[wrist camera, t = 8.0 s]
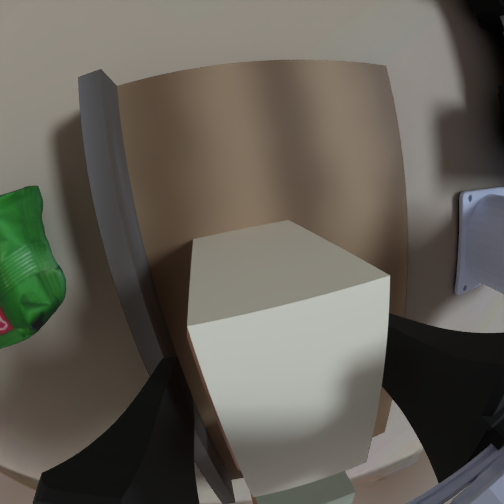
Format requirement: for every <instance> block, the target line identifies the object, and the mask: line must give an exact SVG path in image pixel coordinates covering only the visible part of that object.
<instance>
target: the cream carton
mask: <svg viewBox="0 0 504 504" xmlns="http://www.w3.org/2000/svg"><path fill="white" fill-rule="evenodd" d="M389 298H390V275H388V274H387V273H385V272H383V271H381V270H380V269H378V268H376V267H374V266H373V265H371V264H369V263H367V262H366V261H364V260H362V259H360V258H358V257H357V256H355V255H353V254H351V253H349V252H348V251H346V250H344V249H342V248H340V247H338V246H337V245H335V244H333V243H331V242H329V241H327V240H325V239H324V238H322V237H320V236H318V235H316V234H314V233H312V232H310V231H309V230H307V229H305V228H303V227H301V226H299V225H297V224H295V223H293V222H291V221H289V220H286V221H281V222H275V223H270V224H265V225H260V226H255V227H250V228H245V229H240V230H235V231H230V232H225V233H220V234H215V235H211V236H206V237H201V238H196V239H193V247H192V259H191V272H190V285H189V301H188V319H187V339H188V342H189V345H190V348H191V351H192V354H193V357H194V360H195V363H196V366H197V369H198V372H199V374H200V377H201V380H202V383H203V386H204V388H205V391H206V394H207V396H208V399H209V402H210V404H211V407H212V410H213V412H214V415H215V417H216V420H217V422H218V425H219V427H220V430H221V432H222V434H223V437H224V439H225V442H226V444H227V446H228V449H229V451H230V453H231V455H232V458H233V460H234V462H235V464H236V467H237V469H238V470H241V472H242V475H243V477H244V479H245V481H246V483H247V485H248V488H249V490H250V492H251V494H252V496H253V497H257V496H262V495H266V494H271V493H275V492H279V491H283V490H287V489H291V488H294V487H298V486H301V485H305V484H308V483H311V482H314V481H317V480H320V479H323V478H326V477H329V476H332V475H335V474H338V473H340V472H343V471H345V470H348V469H350V468H353V467H355V466H358V465H360V464H363V463H365V462H366V461H367V457H368V453H369V449H370V445H371V441H372V436H373V431H374V426H375V421H376V416H377V411H378V405H379V399H380V393H381V386H382V379H383V372H384V363H385V354H386V344H387V333H388V318H389Z"/></svg>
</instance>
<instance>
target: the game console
mask: <svg viewBox="0 0 504 504" xmlns="http://www.w3.org/2000/svg"><path fill="white" fill-rule="evenodd" d="M470 3H471V5H472V7H473V10H474V12H475V15H476V17H477V20H478V23H479V25H480V27H481V28H482V29H484V30H485V31H487V32H488V33H490V34H491V35H493V36H494V37H496V38H497V39H499V40H500V41H501V42H503V43H504V0H470ZM498 90H499V94H498V95H499V100H500V106H501V112H502V119H503V127H504V85H498Z"/></svg>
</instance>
